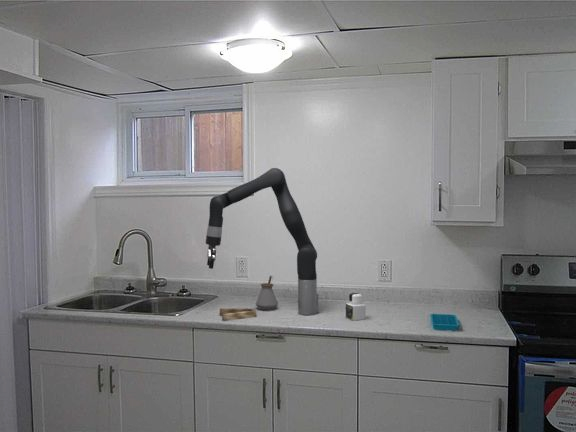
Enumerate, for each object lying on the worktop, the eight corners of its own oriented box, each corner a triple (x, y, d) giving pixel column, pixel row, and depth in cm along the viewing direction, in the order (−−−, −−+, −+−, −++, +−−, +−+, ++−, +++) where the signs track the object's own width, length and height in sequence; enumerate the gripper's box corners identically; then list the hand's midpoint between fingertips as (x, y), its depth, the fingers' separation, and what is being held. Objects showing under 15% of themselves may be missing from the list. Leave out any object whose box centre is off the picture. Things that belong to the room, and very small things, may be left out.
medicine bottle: (345, 317, 251) (345, 292, 250) (358, 316, 254) (358, 291, 253) (352, 321, 244) (352, 295, 244) (366, 319, 247) (366, 294, 246)
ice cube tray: (431, 330, 228) (431, 324, 228) (430, 319, 247) (430, 313, 247) (459, 332, 225) (459, 325, 225) (455, 321, 245) (455, 314, 244)
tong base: (255, 315, 257) (255, 308, 257) (258, 316, 254) (258, 309, 254) (221, 319, 248) (221, 312, 248) (223, 321, 245) (223, 314, 245)
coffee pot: (276, 311, 264) (276, 282, 263) (254, 311, 266) (253, 281, 265) (281, 302, 285) (281, 275, 285) (261, 302, 287) (260, 275, 286)
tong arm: (254, 313, 258) (254, 308, 258) (254, 314, 256) (254, 309, 256) (220, 314, 258) (220, 308, 258) (219, 315, 256) (219, 309, 256)
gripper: (223, 238, 258) (219, 270, 259) (219, 234, 271) (215, 265, 272) (207, 236, 256) (203, 269, 257) (205, 232, 269) (201, 263, 270)
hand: (209, 266), depth 264 cm, fingers open, 8 cm apart
